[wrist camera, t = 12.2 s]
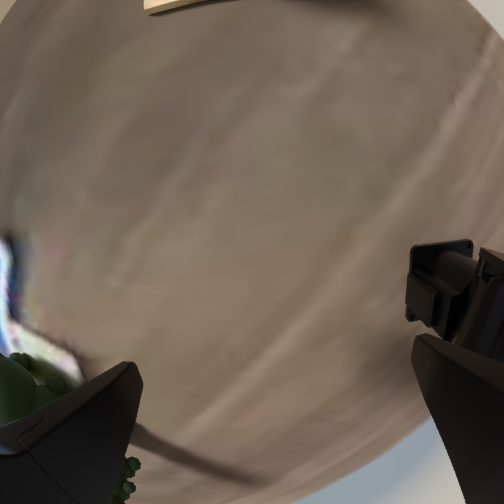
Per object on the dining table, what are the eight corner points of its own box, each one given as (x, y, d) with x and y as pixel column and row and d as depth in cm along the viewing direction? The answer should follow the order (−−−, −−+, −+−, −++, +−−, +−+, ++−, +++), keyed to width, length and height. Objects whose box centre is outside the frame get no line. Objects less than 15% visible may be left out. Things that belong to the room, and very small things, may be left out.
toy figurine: (159, 411, 28) (-13, 306, 24) (127, 559, 10) (-103, 394, 6) (139, 444, 31) (-10, 354, 26) (112, 560, 13) (-75, 437, 8)
